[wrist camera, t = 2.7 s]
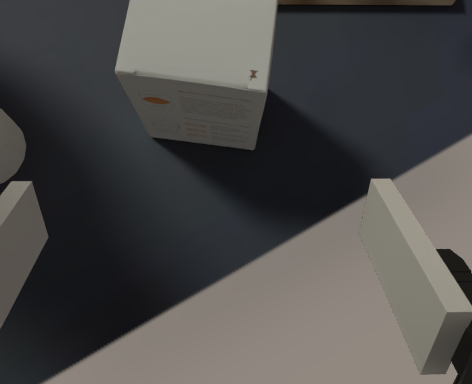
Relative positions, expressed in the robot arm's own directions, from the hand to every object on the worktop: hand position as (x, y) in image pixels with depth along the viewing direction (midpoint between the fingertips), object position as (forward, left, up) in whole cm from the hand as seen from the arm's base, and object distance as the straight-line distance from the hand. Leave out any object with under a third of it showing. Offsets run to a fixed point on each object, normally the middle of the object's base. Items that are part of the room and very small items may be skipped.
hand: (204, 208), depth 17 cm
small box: (0, +10, -14) cm, 17 cm away
